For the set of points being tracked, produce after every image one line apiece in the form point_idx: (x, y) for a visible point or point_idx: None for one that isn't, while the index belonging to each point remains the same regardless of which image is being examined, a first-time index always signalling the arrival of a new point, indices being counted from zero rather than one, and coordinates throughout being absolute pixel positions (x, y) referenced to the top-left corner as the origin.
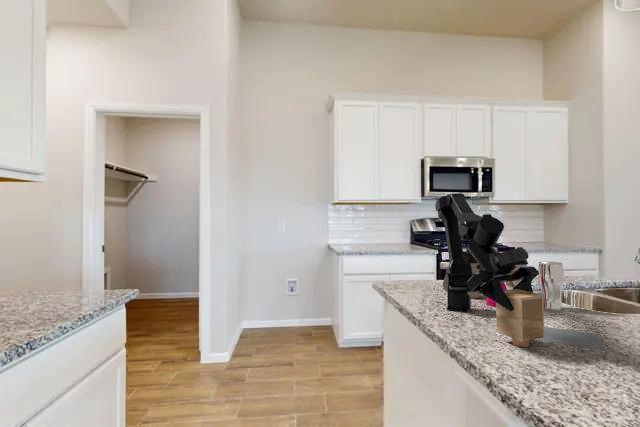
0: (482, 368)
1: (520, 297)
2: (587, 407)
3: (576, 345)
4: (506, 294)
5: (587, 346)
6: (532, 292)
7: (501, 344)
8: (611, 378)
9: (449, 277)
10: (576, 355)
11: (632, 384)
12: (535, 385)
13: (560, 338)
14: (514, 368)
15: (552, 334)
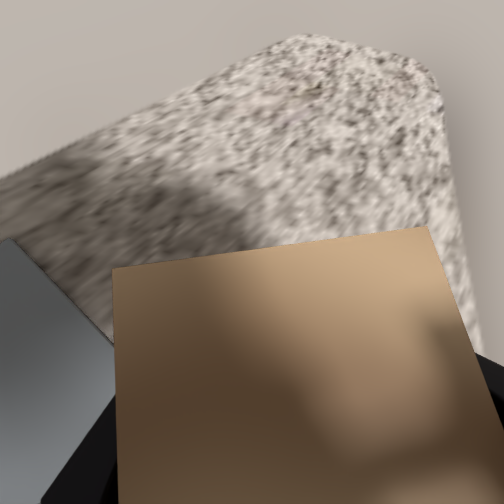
0: (458, 233)
1: (416, 245)
2: (340, 68)
3: (60, 297)
4: (493, 406)
5: (30, 280)
6: (59, 493)
7: None
8: (190, 123)
9: None
10: (137, 242)
11: (174, 95)
12: (380, 141)
13: (41, 379)
14: (379, 214)
15: (20, 438)
